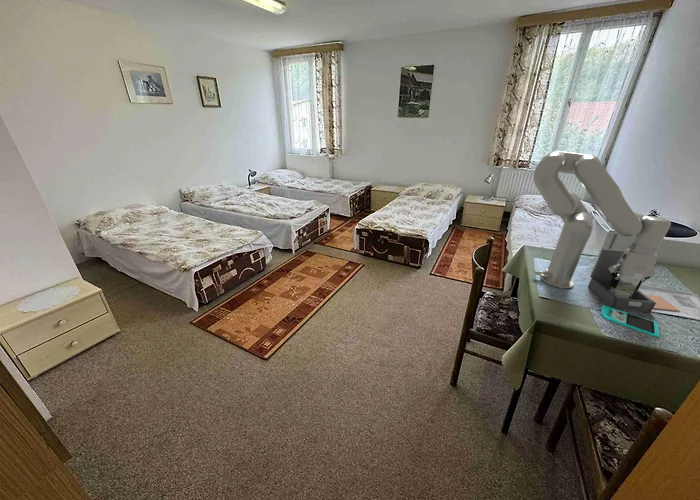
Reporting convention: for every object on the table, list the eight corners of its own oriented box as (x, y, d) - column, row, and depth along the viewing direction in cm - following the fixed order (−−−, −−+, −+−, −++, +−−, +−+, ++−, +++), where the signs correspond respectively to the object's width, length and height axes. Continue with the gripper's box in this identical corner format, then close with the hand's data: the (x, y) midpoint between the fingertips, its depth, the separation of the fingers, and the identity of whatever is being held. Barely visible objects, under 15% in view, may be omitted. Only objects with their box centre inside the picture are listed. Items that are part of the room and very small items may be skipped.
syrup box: (624, 297, 120) (640, 267, 114) (627, 304, 116) (644, 274, 109) (607, 293, 123) (621, 263, 117) (609, 300, 119) (624, 269, 112)
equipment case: (611, 309, 113) (632, 268, 105) (586, 285, 129) (602, 248, 121) (651, 313, 111) (676, 272, 103) (621, 288, 127) (640, 251, 118)
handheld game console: (601, 306, 115) (603, 303, 115) (656, 325, 105) (658, 322, 105) (599, 318, 108) (601, 315, 108) (657, 338, 99) (659, 335, 98)
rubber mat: (650, 308, 114) (651, 307, 113) (632, 294, 122) (633, 293, 122) (679, 311, 112) (680, 310, 112) (659, 297, 121) (660, 296, 121)
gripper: (624, 250, 107) (604, 290, 115) (677, 255, 105) (654, 294, 112) (611, 242, 114) (594, 280, 122) (661, 246, 111) (640, 284, 119)
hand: (623, 287), depth 117 cm, fingers closed on syrup box, 7 cm apart
